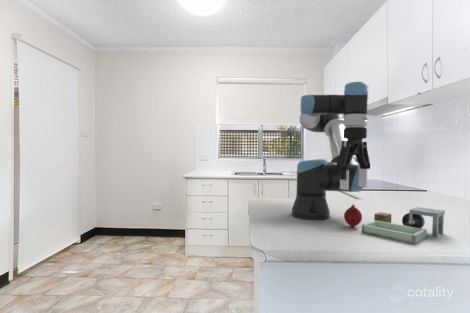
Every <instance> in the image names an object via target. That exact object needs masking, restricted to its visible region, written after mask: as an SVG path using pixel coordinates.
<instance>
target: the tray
mask: <svg viewBox="0 0 470 313" xmlns="http://www.w3.org/2000/svg"><path fill="white" fill-rule="evenodd" d="M361 233H362V234H367V235H372V236H376V237H381V238H385V239H388V240H393V241H399V242H402V243H408V244H413V245H416V244H418V243H420V242H422V241H424V240H425V239H427V233H428V232H427V229H425V228H415V227H410V226H404V225H403V224H398V223H397V224H396V223H392V222H391V223H388V222H382V221H377V220H375V221H374V220H372V221H370V222H366V223H363V224H362V225H361ZM424 238H425V239H424ZM419 241H420V242H419Z"/></svg>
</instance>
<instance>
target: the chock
mask: <svg viewBox="0 0 470 313" xmlns="http://www.w3.org/2000/svg"><path fill="white" fill-rule="evenodd" d="M375 220H377V221H382V222H388V223H392V213H387V212H382V211H380V212H376V213H374V220H373V221H375Z"/></svg>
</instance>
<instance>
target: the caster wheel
mask: <svg viewBox="0 0 470 313" xmlns="http://www.w3.org/2000/svg"><path fill="white" fill-rule="evenodd" d="M445 212H446V211H445V210H444V209H437V208H436V209H435V208H429V207H421V206H417V207H414V208H410V209H409V212H408V213H406V214H404V215H403V216H402V219H401V221H402V225H404V226H410V227H415V228H421V229H423V228H424V226H425V218H424V217H425V216H427V217H431V218H432V230H431V231H432V232H431V234H432V237H433V236H435V237H434V238H438V237H439V235H438V234H444V222H445V221H444V217H445V215H446V214H445ZM437 236H438V237H437Z"/></svg>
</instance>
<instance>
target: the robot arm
mask: <svg viewBox="0 0 470 313" xmlns="http://www.w3.org/2000/svg"><path fill="white" fill-rule="evenodd" d="M368 89H369V88H368V84H367V83H366V82H364V81H353V82H352V81H351V82H348V83H346V84H345V85H344V91H343V93H344V94H307V95H306V94H305V95H302V96H301V97H300V116H299V123H300V125H301V126H302V127H303V128H304V129H305V130H307V131H309V132H313V133H324V134H325V135H326V137H328V141H329V146H330V148H329V149H330V154H331V161H328V160H327V158H317V159H307V160H301V161H299V162H298V163H297V165H296V196H295V199H294V201H293V202H294V203H293V206H292V208H291V215H292V216H293V217H294V218H298V219H302V220H303V219H304V220H313V221H314V220H317V221H318V220H320V221H321V220H328V219H329V218H331V215H330V214H331V211H330V208H329V205H328V201H327V198H326V196H327V195H326V194H327V191H328V192H344V193H345V192H347V193H348V192H349V193H359V192H362V190H363V189H364V188H367V186H368V185H367V183H368V170H370V169H371V163H370V162H371V161H370V156H369V152H368V143H367V141H363V140H364V139H367V136H368V132H367V131H368V130H367V126H368V123H367V122H368V119H369V117H368V97H369V96H368V94H369V90H368Z"/></svg>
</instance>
